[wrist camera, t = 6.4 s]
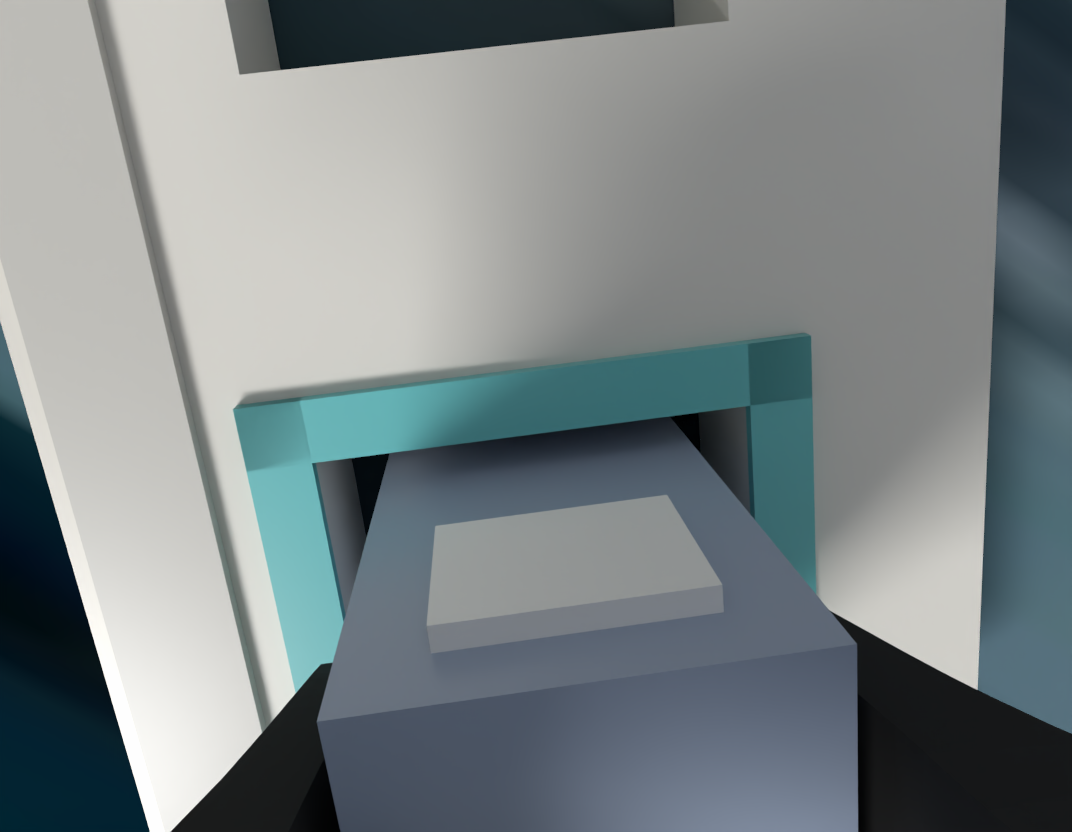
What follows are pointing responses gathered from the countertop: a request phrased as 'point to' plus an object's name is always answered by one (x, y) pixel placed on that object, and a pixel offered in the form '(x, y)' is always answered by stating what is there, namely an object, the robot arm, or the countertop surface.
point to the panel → (486, 307)
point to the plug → (584, 650)
